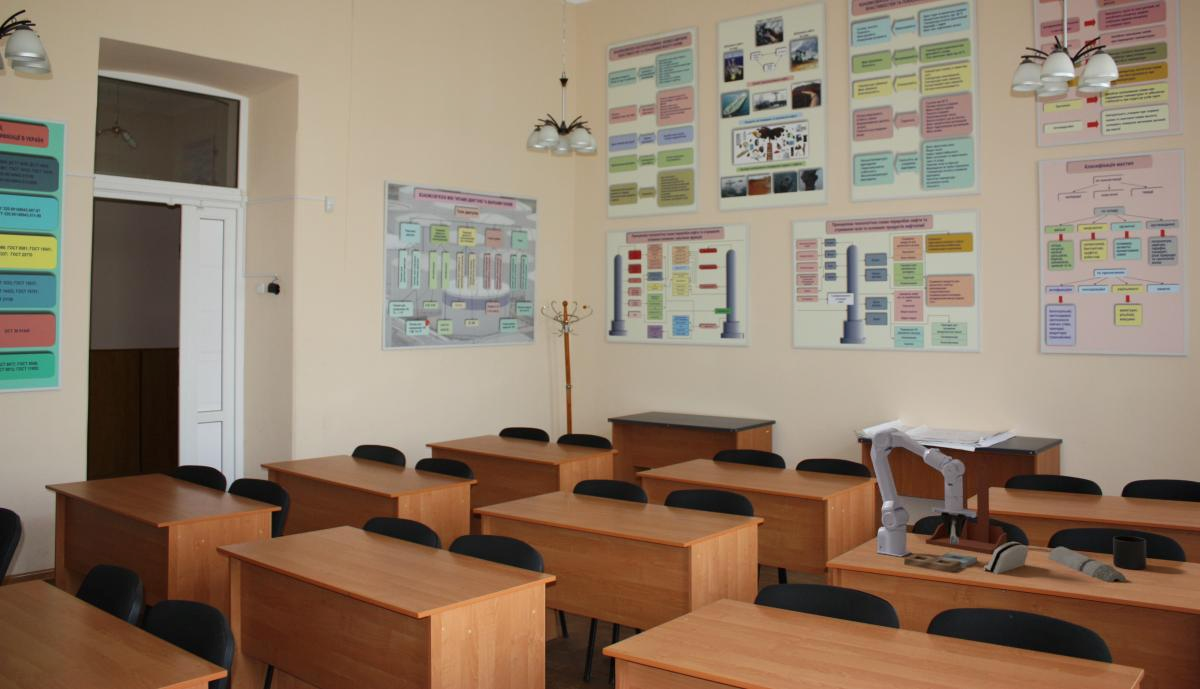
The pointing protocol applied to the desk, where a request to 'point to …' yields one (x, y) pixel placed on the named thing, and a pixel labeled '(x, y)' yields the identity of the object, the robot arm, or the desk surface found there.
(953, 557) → the socket block
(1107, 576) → the grey elongated piece
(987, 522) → the hanging shelf
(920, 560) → the rack
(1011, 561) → the grey arched plastic casing
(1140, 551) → the mug
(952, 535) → the peg
